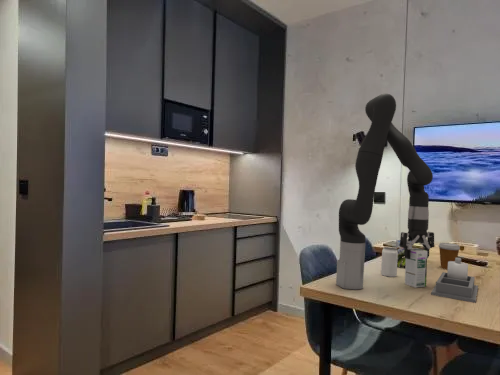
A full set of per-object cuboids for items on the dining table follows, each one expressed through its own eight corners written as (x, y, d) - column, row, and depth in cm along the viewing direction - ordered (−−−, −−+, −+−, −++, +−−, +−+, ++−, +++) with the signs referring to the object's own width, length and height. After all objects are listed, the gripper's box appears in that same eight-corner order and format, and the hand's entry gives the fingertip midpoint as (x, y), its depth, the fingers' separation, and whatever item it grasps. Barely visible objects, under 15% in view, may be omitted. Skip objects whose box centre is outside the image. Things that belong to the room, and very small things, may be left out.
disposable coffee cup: (454, 271, 180) (455, 246, 180) (433, 267, 187) (435, 243, 187) (462, 269, 187) (463, 245, 186) (442, 265, 194) (443, 242, 194)
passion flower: (395, 275, 191) (395, 253, 197) (418, 274, 185) (417, 252, 191) (389, 265, 183) (389, 243, 190) (413, 264, 178) (412, 242, 184)
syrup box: (415, 288, 147) (417, 250, 147) (403, 284, 153) (405, 248, 152) (426, 287, 149) (428, 250, 149) (414, 283, 155) (416, 247, 155)
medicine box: (397, 255, 217) (397, 240, 217) (395, 254, 222) (396, 239, 221) (411, 256, 216) (412, 241, 216) (409, 255, 220) (410, 240, 220)
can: (397, 277, 162) (399, 250, 162) (382, 276, 164) (383, 248, 164) (395, 274, 169) (396, 247, 169) (379, 273, 170) (381, 246, 170)
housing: (475, 302, 131) (477, 268, 131) (431, 294, 139) (432, 262, 138) (477, 288, 151) (479, 258, 151) (439, 281, 159) (440, 253, 159)
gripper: (426, 216, 156) (425, 255, 157) (396, 216, 153) (395, 256, 153) (440, 218, 149) (438, 259, 149) (409, 218, 145) (407, 260, 146)
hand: (416, 258), depth 151 cm, fingers open, 8 cm apart
